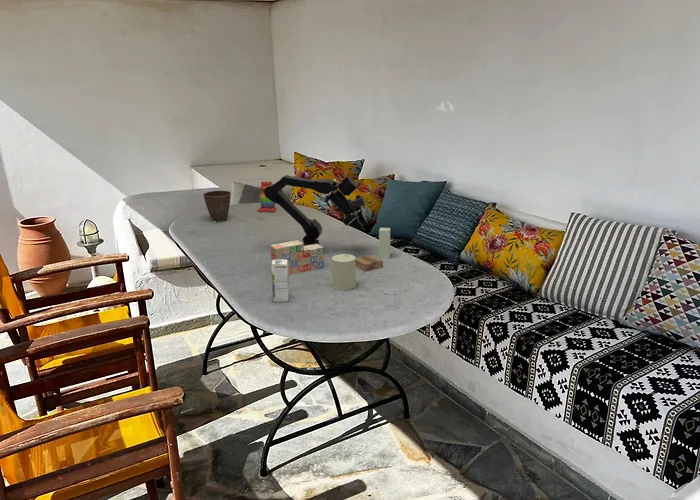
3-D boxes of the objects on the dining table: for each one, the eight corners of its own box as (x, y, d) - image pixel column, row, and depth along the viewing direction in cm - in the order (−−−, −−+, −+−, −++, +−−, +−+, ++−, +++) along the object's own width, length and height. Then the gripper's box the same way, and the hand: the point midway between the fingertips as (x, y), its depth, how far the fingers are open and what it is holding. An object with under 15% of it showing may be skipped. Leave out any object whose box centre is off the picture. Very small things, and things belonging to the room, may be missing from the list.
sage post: (378, 258, 236) (379, 230, 232) (380, 255, 240) (380, 227, 236) (388, 258, 235) (389, 230, 231) (390, 255, 240) (390, 228, 236)
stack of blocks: (318, 263, 231) (317, 236, 227) (324, 268, 226) (323, 240, 222) (271, 272, 222) (270, 244, 218) (277, 276, 216) (275, 248, 213)
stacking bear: (256, 212, 320) (254, 183, 314) (262, 208, 329) (260, 180, 323) (274, 212, 318) (272, 183, 312) (278, 208, 327) (277, 180, 322)
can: (359, 282, 209) (358, 254, 205) (351, 291, 200) (351, 261, 197) (337, 280, 212) (336, 251, 208) (329, 288, 203) (328, 259, 200)
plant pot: (229, 224, 294) (227, 196, 289) (202, 224, 294) (200, 196, 289) (235, 217, 308) (233, 190, 303) (210, 217, 308) (207, 190, 303)
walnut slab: (365, 271, 221) (365, 264, 220) (353, 265, 228) (353, 258, 227) (382, 267, 225) (382, 260, 224) (370, 261, 232) (370, 254, 232)
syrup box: (273, 296, 197) (271, 259, 193) (289, 295, 198) (287, 258, 193) (272, 302, 192) (270, 264, 187) (289, 301, 192) (287, 264, 188)
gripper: (351, 195, 222) (376, 221, 224) (357, 186, 240) (381, 211, 242) (332, 212, 226) (357, 238, 228) (340, 202, 244) (363, 226, 245)
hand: (365, 227), depth 236 cm, fingers open, 9 cm apart
